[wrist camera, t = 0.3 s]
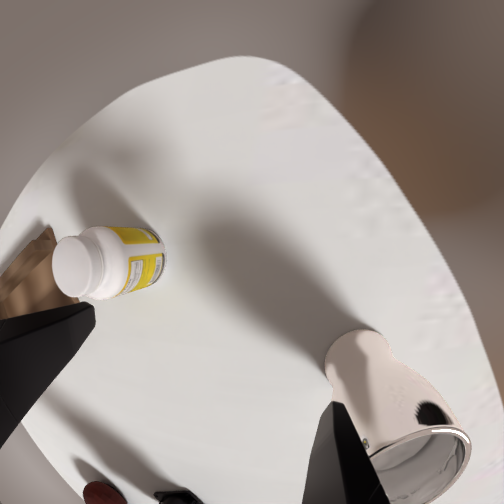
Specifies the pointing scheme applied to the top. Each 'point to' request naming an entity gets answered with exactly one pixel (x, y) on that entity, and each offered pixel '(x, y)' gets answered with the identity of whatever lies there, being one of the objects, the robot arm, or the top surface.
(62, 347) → the robot arm
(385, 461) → the beer glass
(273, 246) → the top surface
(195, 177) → the top surface
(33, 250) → the walnut rail track
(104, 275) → the supplement bottle
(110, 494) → the potato
